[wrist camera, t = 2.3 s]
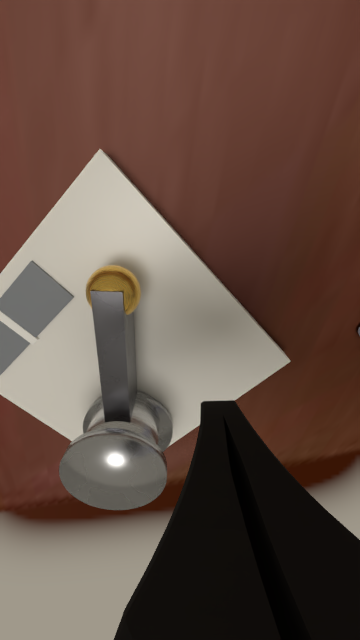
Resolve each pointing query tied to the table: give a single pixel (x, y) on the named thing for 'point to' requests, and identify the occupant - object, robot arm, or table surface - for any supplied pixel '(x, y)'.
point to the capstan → (118, 409)
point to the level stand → (149, 316)
